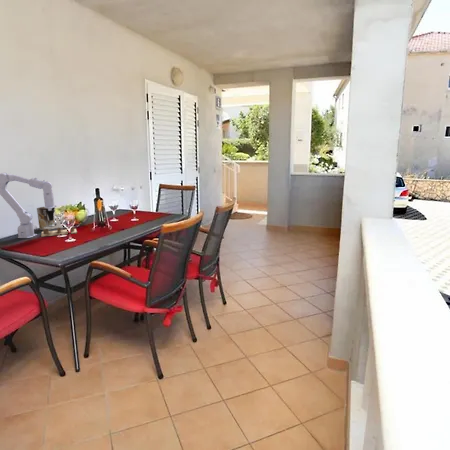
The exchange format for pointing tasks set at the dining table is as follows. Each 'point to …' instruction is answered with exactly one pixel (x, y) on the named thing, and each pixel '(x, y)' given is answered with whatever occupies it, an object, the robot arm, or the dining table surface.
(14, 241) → the dining table surface
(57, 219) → the glasses frame
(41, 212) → the coffee box
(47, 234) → the display stand
